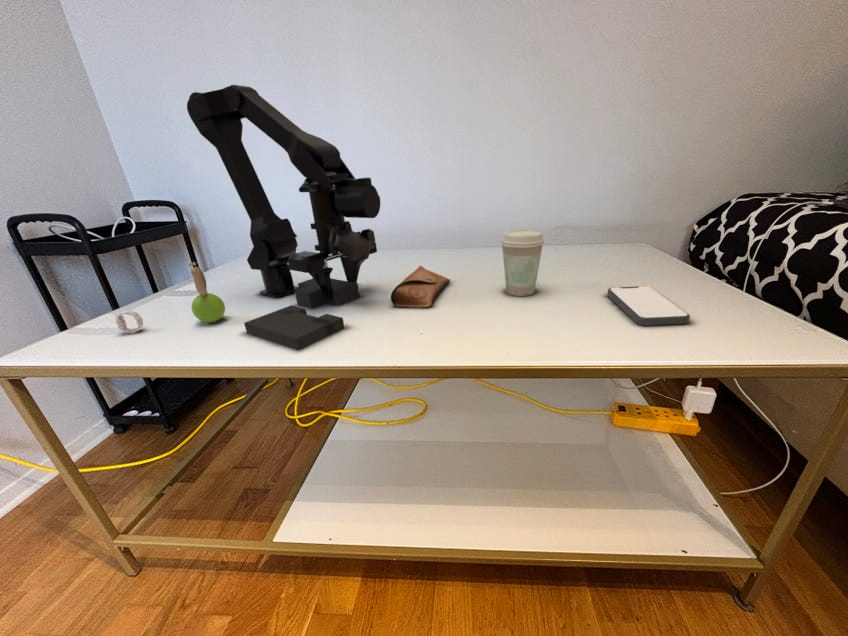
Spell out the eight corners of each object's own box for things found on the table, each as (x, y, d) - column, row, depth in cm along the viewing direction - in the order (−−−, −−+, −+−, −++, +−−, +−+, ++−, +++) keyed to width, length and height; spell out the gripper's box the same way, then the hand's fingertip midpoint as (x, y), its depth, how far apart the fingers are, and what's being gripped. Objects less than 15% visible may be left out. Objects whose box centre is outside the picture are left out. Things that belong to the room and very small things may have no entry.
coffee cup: (495, 296, 84) (495, 236, 79) (505, 284, 91) (507, 228, 86) (536, 299, 81) (540, 237, 76) (544, 287, 88) (548, 229, 83)
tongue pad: (285, 302, 87) (282, 288, 85) (321, 289, 94) (319, 276, 93) (324, 311, 81) (321, 296, 79) (359, 296, 88) (357, 283, 86)
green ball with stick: (196, 331, 74) (173, 265, 69) (197, 319, 79) (175, 257, 74) (229, 324, 76) (209, 260, 71) (228, 314, 82) (209, 253, 76)
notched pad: (246, 333, 72) (243, 322, 71) (293, 314, 80) (291, 305, 79) (298, 350, 65) (295, 338, 64) (344, 328, 73) (342, 317, 72)
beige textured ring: (147, 328, 76) (139, 307, 75) (143, 332, 75) (134, 311, 73) (126, 331, 76) (116, 310, 74) (121, 335, 74) (111, 314, 72)
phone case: (691, 325, 68) (648, 293, 82) (694, 316, 67) (650, 285, 81) (638, 328, 68) (604, 295, 82) (639, 319, 67) (605, 287, 81)
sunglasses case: (432, 305, 79) (413, 276, 77) (404, 321, 82) (385, 293, 80) (451, 279, 95) (436, 254, 93) (427, 293, 98) (411, 269, 96)
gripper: (319, 227, 68) (335, 315, 75) (392, 211, 82) (400, 287, 89) (277, 224, 74) (296, 306, 81) (352, 209, 87) (362, 281, 95)
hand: (342, 294), depth 86 cm, fingers closed on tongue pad, 6 cm apart
